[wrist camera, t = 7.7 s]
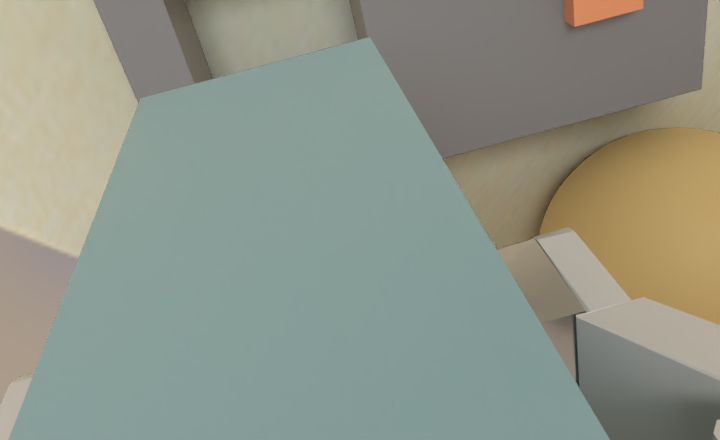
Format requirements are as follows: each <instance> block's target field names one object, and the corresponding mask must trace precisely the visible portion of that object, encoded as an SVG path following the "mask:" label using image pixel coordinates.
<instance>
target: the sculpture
mask: <svg viewBox="0 0 720 440" xmlns="http://www.w3.org/2000/svg"><path fill="white" fill-rule="evenodd" d="M566 227H568V228H570V229H573V230H574V231H575V232H576V233H577V234H578V236H579V237H580V238H581V239H582V240H583V242H584V243H585V244H586V245H587V246H588V248H589V249H590V250H591V251H592V252H593V254H594V255H595V256H596V257H597V258H598V260H599V261H600V262H601V263H602V264H603V266H604V267H605V268H606V269H607V270H608V272H609V273H610V274H611V275H612V277H613V278H614V279H615V280H616V281H617V283H618V284H619V285H620V286H621V287H622V289H623V290H624V291H625V292H626V293H627V295H628V296H629V297H630V298H631V299H632V300H634V299H638V298H642V297H645V298H647V299H650V300H653V301H656V302H658V303H661V304H664V305H666V306H669V307H672V308H674V309H677V310H680V311H683V312H685V313H688V314H691V315H693V316H696V317H699V318H702V319H704V320H707V321H710V322H712V323H715V324H718V325H720V133H718V132H713V131H708V130H702V129H694V128H662V129H654V130H648V131H643V132H639V133H635V134H631V135H628V136H625V137H623V138H620V139H618V140H615V141H613V142H611V143H609V144H607V145H606V146H604V147H602V148H601V149H599V150H598V151H596V152H595V153H593V154H592V155H591V156H589V157H588V158H587V159H586V160H584V161H583V162H582V163H581V164H580V165H579V166H578V167H577V168H576V169H575V170H574V171H573V172H572V173H571V174H570V175H569V176H568V177H567V179H566V180H565V181H564V182H563V183H562V185H561V186H560V188H559V189H558V190H557V192H556V193H555V195H554V197H553V198H552V200H551V202H550V204H549V206H548V208H547V210H546V213H545V216H544V218H543V222H542V225H541V229H540V233H539V236H540V235H543V234H546V233H550V232H553V231H556V230H560V229H563V228H566Z"/></svg>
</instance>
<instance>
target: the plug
mask: <svg viewBox="0 0 720 440" xmlns="http://www.w3.org/2000/svg"><path fill="white" fill-rule="evenodd" d="M8 440H610V439H609V437H608V435H607V434H606V432H605V430H604V429H603V427H602V425H601V424H600V422H599V420H598V419H597V417H596V415H595V414H594V412H593V410H592V409H591V407H590V405H589V404H588V402H587V400H586V399H585V397H584V395H583V394H582V392H581V390H580V388H579V387H578V385H577V383H576V382H575V380H574V378H573V377H572V375H571V373H570V372H569V370H568V368H567V367H566V365H565V363H564V362H563V360H562V358H561V357H560V355H559V353H558V352H557V350H556V348H555V347H554V345H553V343H552V342H551V340H550V338H549V336H548V335H547V333H546V331H545V330H544V328H543V326H542V325H541V323H540V321H539V320H538V318H537V316H536V315H535V313H534V311H533V310H532V308H531V306H530V305H529V303H528V301H527V300H526V298H525V296H524V295H523V293H522V291H521V289H520V288H519V286H518V284H517V283H516V281H515V279H514V278H513V276H512V274H511V273H510V271H509V269H508V268H507V266H506V264H505V263H504V261H503V259H502V258H501V256H500V254H499V253H498V251H497V249H496V248H495V246H494V244H493V242H492V241H491V239H490V237H489V236H488V234H487V232H486V231H485V229H484V227H483V226H482V224H481V222H480V221H479V219H478V217H477V216H476V214H475V212H474V211H473V209H472V207H471V206H470V204H469V202H468V201H467V199H466V197H465V196H464V194H463V192H462V190H461V189H460V187H459V185H458V184H457V182H456V180H455V179H454V177H453V175H452V174H451V172H450V170H449V169H448V167H447V165H446V164H445V162H444V160H443V159H442V157H441V155H440V154H439V152H438V150H437V149H436V147H435V145H434V143H433V142H432V140H431V138H430V137H429V135H428V133H427V132H426V130H425V128H424V127H423V125H422V123H421V122H420V120H419V118H418V117H417V115H416V113H415V112H414V110H413V108H412V107H411V105H410V103H409V102H408V100H407V98H406V96H405V95H404V93H403V91H402V90H401V88H400V86H399V85H398V83H397V81H396V80H395V78H394V76H393V75H392V73H391V71H390V70H389V68H388V66H387V65H386V63H385V61H384V60H383V58H382V56H381V55H380V53H379V51H378V50H377V48H376V46H375V44H374V43H373V41H372V39H371V38H370V37H368V38H364V39H360V40H356V41H353V42H349V43H345V44H341V45H338V46H334V47H330V48H327V49H323V50H319V51H315V52H312V53H308V54H304V55H300V56H297V57H293V58H289V59H286V60H282V61H278V62H274V63H271V64H267V65H263V66H259V67H256V68H252V69H248V70H245V71H241V72H237V73H233V74H230V75H226V76H222V77H218V78H215V79H211V80H207V81H203V82H200V83H196V84H192V85H189V86H185V87H181V88H177V89H174V90H170V91H166V92H162V93H159V94H155V95H151V96H148V97H144V98H140V101H139V104H138V106H137V109H136V111H135V114H134V116H133V119H132V122H131V124H130V127H129V129H128V132H127V135H126V137H125V140H124V142H123V145H122V147H121V150H120V153H119V155H118V158H117V160H116V163H115V166H114V168H113V171H112V173H111V176H110V178H109V181H108V184H107V186H106V189H105V191H104V194H103V197H102V199H101V202H100V204H99V207H98V209H97V212H96V215H95V217H94V220H93V222H92V225H91V228H90V230H89V233H88V235H87V238H86V240H85V243H84V246H83V248H82V251H81V253H80V256H79V259H78V261H77V264H76V266H75V269H74V271H73V274H72V277H71V279H70V282H69V284H68V287H67V290H66V292H65V295H64V297H63V300H62V302H61V305H60V308H59V310H58V313H57V316H56V318H55V321H54V323H53V326H52V328H51V331H50V334H49V336H48V339H47V341H46V344H45V346H44V349H43V352H42V354H41V357H40V359H39V362H38V364H37V367H36V370H35V372H34V375H33V377H32V380H31V382H30V385H29V388H28V390H27V393H26V395H25V398H24V401H23V403H22V406H21V408H20V411H19V413H18V416H17V419H16V421H15V424H14V426H13V429H12V432H11V434H10V437H9V439H8Z"/></svg>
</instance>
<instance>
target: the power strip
mask: <svg viewBox="0 0 720 440" xmlns="http://www.w3.org/2000/svg"><path fill="white" fill-rule="evenodd" d="M94 3H95V5H96V7H97V10H98V12H99V14H100V16H101V19H102V21H103V23H104V26H105V28H106V30H107V32H108V35H109V37H110V39H111V42H112V44H113V46H114V49H115V51H116V53H117V55H118V58H119V60H120V62H121V65H122V67H123V69H124V71H125V74H126V76H127V78H128V81H129V83H130V85H131V87H132V90H133V92H134V94H135V97H136V99H137V101H138V103H139V101H140V98H144V97H148V96H151V95H155V94H159V93H162V92H166V91H170V90H174V89H177V88H181V87H185V86H189V85H192V84H196V83H200V82H203V81H207V80H211V79H212V76H211V73H210V70H209V67H208V65H207V62H206V59H205V56H204V54H203V51H202V48H201V45H200V43H199V40H198V37H197V34H196V31H195V29H194V26H193V23H192V20H191V18H190V15H189V12H188V9H187V7H186V4H185V1H184V0H94ZM350 4H351V8H352V13H353V17H354V22H355V26H356V31H357V35H358V40H360V39H364V38H368V37H370V38H371V39H372V41H373V43H374V44H375V46H376V48H377V50H378V51H379V53H380V55H381V56H382V58H383V60H384V61H385V63H386V65H387V66H388V68H389V70H390V71H391V73H392V75H393V76H394V78H395V80H396V81H397V83H398V85H399V86H400V88H401V90H402V91H403V93H404V95H405V96H406V98H407V100H408V102H409V103H410V105H411V107H412V108H413V110H414V112H415V113H416V115H417V117H418V118H419V120H420V122H421V123H422V125H423V127H424V128H425V130H426V132H427V133H428V135H429V137H430V138H431V140H432V142H433V143H434V145H435V147H436V149H437V150H438V152H439V154H440V155H441V157H442V159H443V158H447V157H450V156H454V155H458V154H462V153H465V152H469V151H473V150H476V149H480V148H484V147H488V146H491V145H495V144H499V143H502V142H506V141H510V140H514V139H517V138H521V137H525V136H529V135H532V134H536V133H540V132H543V131H547V130H551V129H555V128H558V127H562V126H566V125H569V124H573V123H577V122H581V121H584V120H588V119H592V118H595V117H599V116H603V115H607V114H610V113H614V112H618V111H621V110H625V109H629V108H633V107H636V106H640V105H644V104H647V103H651V102H655V101H659V100H662V99H666V98H670V97H674V96H677V95H681V94H685V93H688V92H692V91H696V90H700V89H701V87H702V73H703V59H704V45H705V31H706V18H707V4H708V0H350Z"/></svg>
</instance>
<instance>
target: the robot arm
mask: <svg viewBox="0 0 720 440" xmlns="http://www.w3.org/2000/svg"><path fill="white" fill-rule="evenodd" d="M497 251H498V253H499V254H500V256H501V258H502V259H503V261H504V263H505V264H506V266H507V268H508V269H509V271H510V273H511V274H512V276H513V278H514V279H515V281H516V283H517V284H518V286H519V288H520V289H521V291H522V293H523V295H524V296H525V298H526V300H527V301H528V303H529V305H530V306H531V308H532V310H533V311H534V313H535V315H536V316H537V318H538V320H539V321H540V323H541V325H542V326H543V328H544V330H545V331H546V333H547V335H548V336H549V338H550V340H551V342H552V343H553V345H554V347H555V348H556V350H557V352H558V353H559V355H560V357H561V358H562V360H563V362H564V363H565V365H566V367H567V368H568V370H569V372H570V373H571V375H572V377H573V378H574V380H575V382H576V383H577V385H578V387H579V388H580V390H581V392H582V394H583V395H584V397H585V399H586V400H587V402H588V404H589V405H590V407H591V409H592V410H593V412H594V414H595V415H596V417H597V419H598V420H599V422H600V424H601V425H602V427H603V429H604V430H605V432H606V434H607V435H608V437H609V439H610V440H720V325H718V324H715V323H712V322H710V321H707V320H704V319H702V318H699V317H696V316H693V315H691V314H688V313H685V312H683V311H680V310H677V309H674V308H672V307H669V306H666V305H664V304H661V303H658V302H656V301H653V300H650V299H647V298H645V297H642V298H638V299H634V300H632V299H631V298H630V297H629V296H628V295H627V293H626V292H625V291H624V290H623V289H622V287H621V286H620V285H619V284H618V283H617V281H616V280H615V279H614V278H613V277H612V275H611V274H610V273H609V272H608V270H607V269H606V268H605V267H604V266H603V264H602V263H601V262H600V261H599V260H598V258H597V257H596V256H595V255H594V254H593V252H592V251H591V250H590V249H589V248H588V246H587V245H586V244H585V243H584V242H583V240H582V239H581V238H580V237H579V236H578V234H577V233H576V232H575V231H574V230H573V229H570V228H568V227H566V228H563V229H560V230H556V231H553V232H550V233H546V234H543V235H540V236H536V237H533V238H531V240H527V241H523V242H519V243H516V244H512V245H509V246H505V247H501V248H498V249H497ZM33 375H34V373H30V374H26V375H23V376H19V377H18V378H16V379H15V380H14V381H12V382H11V383H10V384H9V386H8V389H7V391H6V393H5V396H4V398H3V400H2V402H1V405H0V440H8V439H9V437H10V434H11V432H12V429H13V426H14V424H15V421H16V419H17V416H18V413H19V411H20V408H21V406H22V403H23V401H24V398H25V395H26V393H27V390H28V388H29V385H30V382H31V380H32V377H33Z"/></svg>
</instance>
